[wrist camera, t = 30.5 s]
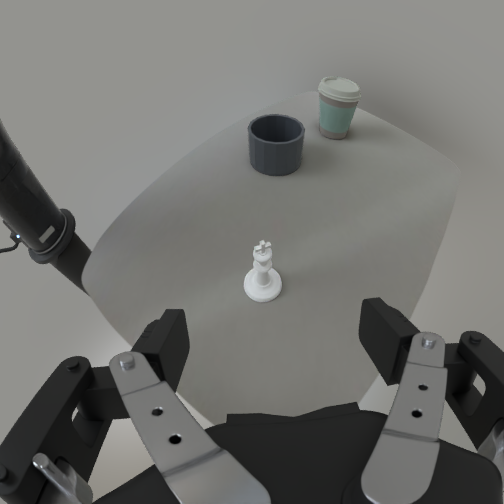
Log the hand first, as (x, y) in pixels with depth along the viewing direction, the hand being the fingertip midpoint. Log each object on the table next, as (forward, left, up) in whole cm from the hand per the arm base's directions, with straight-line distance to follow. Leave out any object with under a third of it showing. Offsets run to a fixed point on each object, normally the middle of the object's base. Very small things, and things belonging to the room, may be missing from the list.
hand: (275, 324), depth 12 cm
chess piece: (+1, +11, -21) cm, 24 cm away
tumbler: (+7, +36, -21) cm, 42 cm away
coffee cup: (+21, +44, -21) cm, 53 cm away
